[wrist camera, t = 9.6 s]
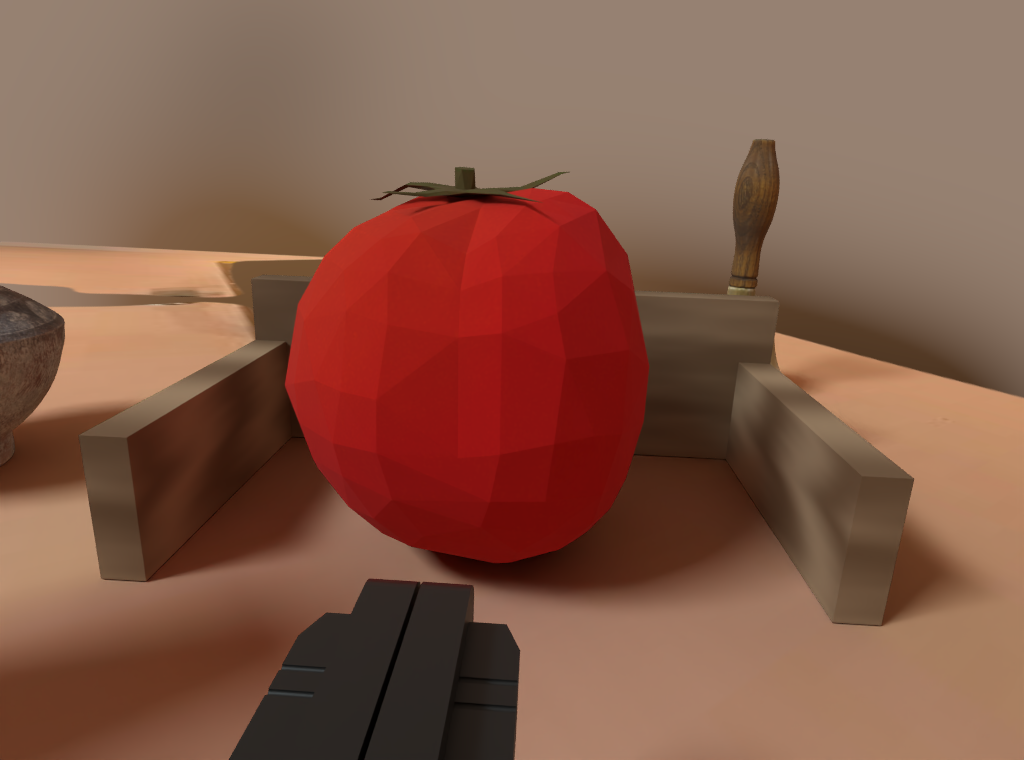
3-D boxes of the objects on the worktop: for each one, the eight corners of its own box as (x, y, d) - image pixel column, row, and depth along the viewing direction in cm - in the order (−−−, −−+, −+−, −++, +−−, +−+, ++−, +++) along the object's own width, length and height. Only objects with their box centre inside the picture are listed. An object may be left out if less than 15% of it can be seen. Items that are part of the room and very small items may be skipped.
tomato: (697, 532, 26) (742, 178, 22) (488, 723, 17) (505, 158, 13) (459, 447, 34) (462, 171, 30) (218, 545, 24) (180, 155, 20)
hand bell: (670, 370, 50) (695, 142, 45) (790, 383, 47) (828, 145, 43) (659, 402, 42) (687, 133, 38) (800, 420, 40) (848, 135, 35)
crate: (881, 625, 21) (936, 380, 19) (101, 578, 22) (63, 339, 20) (747, 449, 35) (769, 296, 33) (274, 425, 36) (263, 274, 33)
